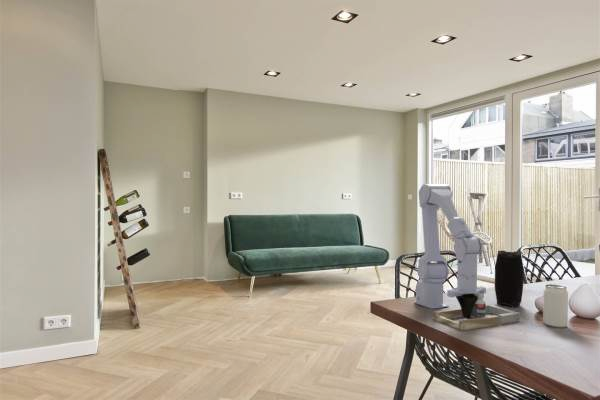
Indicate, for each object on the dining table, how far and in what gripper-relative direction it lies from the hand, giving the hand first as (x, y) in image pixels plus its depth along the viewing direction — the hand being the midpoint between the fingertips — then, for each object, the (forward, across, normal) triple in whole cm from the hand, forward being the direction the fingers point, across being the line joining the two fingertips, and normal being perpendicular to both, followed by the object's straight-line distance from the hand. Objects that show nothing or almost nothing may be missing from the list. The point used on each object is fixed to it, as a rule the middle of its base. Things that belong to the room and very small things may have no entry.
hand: (466, 317), depth 129 cm
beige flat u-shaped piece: (+1, 0, 0) cm, 1 cm away
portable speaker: (+1, +31, +9) cm, 32 cm away
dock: (+1, +13, 0) cm, 13 cm away
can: (+2, +24, -13) cm, 27 cm away
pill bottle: (+2, +4, 0) cm, 4 cm away
